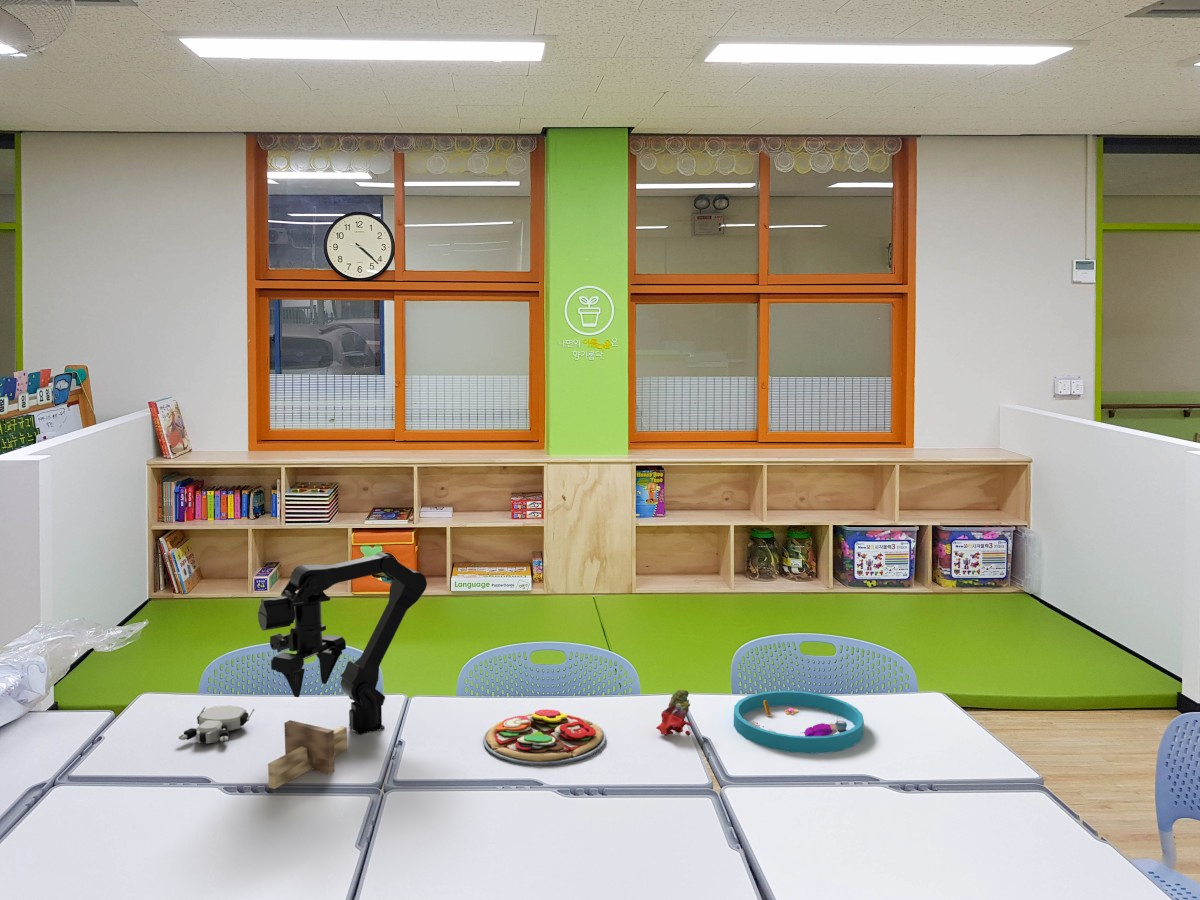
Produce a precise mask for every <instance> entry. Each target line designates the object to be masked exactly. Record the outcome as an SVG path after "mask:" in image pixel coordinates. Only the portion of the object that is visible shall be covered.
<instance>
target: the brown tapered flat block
mask: <svg viewBox="0 0 1200 900" xmlns="http://www.w3.org/2000/svg"><path fill="white" fill-rule="evenodd" d="M283 724H284V726H283V727H284V749H285V750H284V752H285V753H284V755H286V754H288V753H290V752H292V751H294V750H296V749H298V748H299V747H305V748H307V755H309V756H312V761H313V768H312V771H316V772H319V773H324V774H327V775H330V774H333V773H334V772H335V770H336V769H335V756H334V729H331V728H326V727H322V726H316V725H313V724H308V723H303V722H299V721H296V720H291V719H290V720H287V721H285V722H284V723H283Z"/></svg>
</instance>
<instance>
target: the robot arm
mask: <svg viewBox="0 0 1200 900" xmlns="http://www.w3.org/2000/svg"><path fill="white" fill-rule="evenodd" d="M382 573H383V575H385V576H386V578H388V579H390V580H391V583H390V586H389V596H388V603H387V605H386V606H385V608H384V609H383V612H382V615H381V616H380V619H379V620H378V622H377V624H376V626H375V628H374V630H373V632H372V634H371V636H370V638H369V640H368V641H367V644H366V645H365V648H364V649H363V652H362V654H361V656H360V657H359V658H358V659H357V660H355V661H354V662H353V661H351V660H348V661H347V663H346V666H345V668H344V671H343V672H342V673H341V674H340V677H341V680H340V688H341V690H342V692H344V694H346V695H348V697H349V700H352V702H350V708H351V709H349V710H348V716H349V717H348V718H349V719H348V720H349V722H348V727H350V729H352V731H354V732H355V733H356V734H357V735H362V734H367V733H372V732H376V731H381V730H384V729H385V725H383V724H382V722H383V721H382V719H383V717H382V715H383V712H382V706H384V704H385V700H386V696H385V695H384V694H383V693H382V692H380V691H379V690H378V689H376V688H377V685H378V682H379V676H380V675H379V674H380V666H381V663H382V661H383V659H384V657H385V655H386V653H387V651H388V649H389V647H390V645H391V644H392V642H393V639H394V638H395V636H396V633H397V632H398V629H399V628H400V625H401V624H402V621H403V619H404V617H405V615H406V613H407V611H408V610H410V608H411V607H412V606H414V605H415V604H416V603H417V602H418V601H419V600H420V598H421V597H422V595H423V594H424V592H425V591H426V590H427V586H428V582H427V578H426V576H425V575H424V574H423V573H421V572H419V571H417V570H415V569H412V568H409V567H406V566H405V565H403V564H402V563H400V562H398V561H397V560H396V559H395V557H393V556H392V555H390V554H386V553H384V552H379V553H376V554H374V555H370V556H369V555H368V556H365V557H360V558H356V559H351V560H347V561H343V562H338V563H334V564H315V563H314V564H300V565H298V566H295V568H293V571H292V572H291V573H290V577H289V578H290V579H289V580H288V581H287V584H286V585H285V587H284V589H283V590H282V591H281V593H280V596H277V597H271V598H269V597H264V598H261V600H260V605H259V608H258V612H257V618H258V619H257V620H258V623H259V627H260V629H261V630H262V631H264V632H265V631H269V630H277V629H281V628H286V627H291V625H292V624H294V626H293V627H291V628H290V629H289V633H286V634H283V635H282V634H281V633H279V632H278V633H277V634H273V635H271V636H270V637H269V645H270V648H271V650H273V651H277V653H279V654H277V655H275V656H273V657H272V658H271V659H270V669H271V671H272V670H273V671H276V672H277V673H281V674H282V675H283V676H284V678H285V679H286V681H287V683H288V685H289V688H290V690H291V692H292V695H293V696H294V698H299V697H300V694H301V691H302V686H303V680H304V675H305V668H303V667H304V665H305V660H307V659H309V658H311V657H314V656H316V657H317V658H318V661H319V672H320V680H321V683H322V685H323V684H324V685H326V684H327V683H328V681H329V678H330V677H331V674H332V672H333V670H334V669H335V665H336V664H337V662H338V660H339V658H340V656H341V655H342V654H343V651H344V650H346V649H347V648H346V647H347V644H346V640H345V638H344V637H343V636H339V635H331V634H326V635H323V632H324V631H326V630H327V625H326V624H322V621H323V620H322V618H323V617H322V602H329V601H331V597H330V596H328V595H327V594H326V593H325V592H324V591H326V590H328V589H330V588H331V587H333V586H334V585H337V584H339V583H343V582H347V581H352V580H355V579H356V580H357V579H360V578H361V579H362V578H366V577H369V576H373V575H378V574H382ZM284 650H289V652H285V651H284ZM282 651H284V652H282ZM280 652H281V653H280ZM290 652H291V653H290ZM292 652H296V653H292Z"/></svg>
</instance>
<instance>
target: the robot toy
mask: <svg viewBox="0 0 1200 900" xmlns="http://www.w3.org/2000/svg"><path fill="white" fill-rule="evenodd" d="M254 712H255V708H254V707H253V708H252V710H251V712H250V714H249V712H247V709H245V708H244V707H240V706H237V705H235V706H234V705H218V706H212V707H208V708H206V706H203V708H202V710H201V712H200V713H199V714H198V715H197V717H196V719H197V724H198V727H197V728H195V727H194V728H193V727H192V728H188V729H186V730H184V731H183V734H180V735H179V736H178V739H179V740H181V741H185V740H187V741H188V740H191V739H193V738H195V737H196V741H197V743H198V744H201V743H202V744H205V743H206V744H212V743H213V744H214V743H217V742H218V740H219V741H220V742H224V741H225V742H227V741H228V740H229V737H230V736H229V735H230V734H229V732H231V731H237V730H239V729H241V727H242V726H244V725H245V724H246V723H247V722H249V721H250V718H251V716H252V715H253V713H254Z"/></svg>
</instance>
